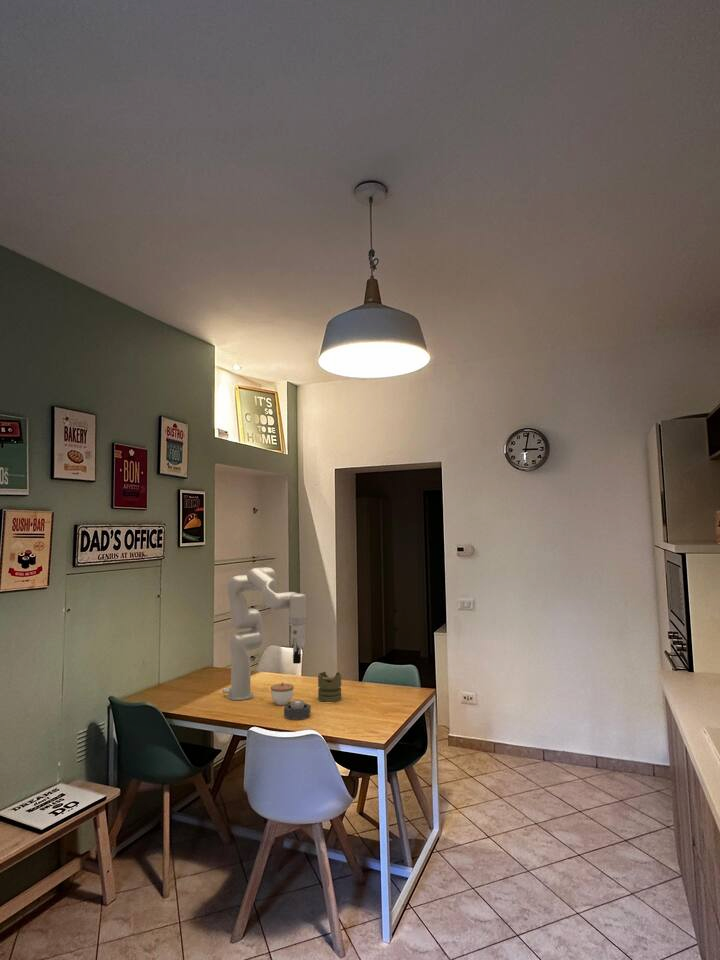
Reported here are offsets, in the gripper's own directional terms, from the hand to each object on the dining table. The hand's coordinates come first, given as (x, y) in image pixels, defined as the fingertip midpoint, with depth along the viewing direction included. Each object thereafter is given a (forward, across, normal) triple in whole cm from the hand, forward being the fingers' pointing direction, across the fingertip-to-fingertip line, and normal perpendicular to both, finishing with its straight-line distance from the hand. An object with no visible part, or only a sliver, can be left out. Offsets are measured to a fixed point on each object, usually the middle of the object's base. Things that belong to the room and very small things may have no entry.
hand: (296, 663), depth 247 cm
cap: (+22, -1, -1) cm, 22 cm away
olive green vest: (+23, +25, -12) cm, 35 cm away
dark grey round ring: (+22, -2, -1) cm, 23 cm away
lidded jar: (+23, +17, +10) cm, 31 cm away
